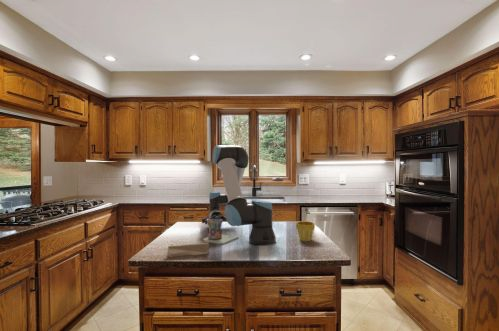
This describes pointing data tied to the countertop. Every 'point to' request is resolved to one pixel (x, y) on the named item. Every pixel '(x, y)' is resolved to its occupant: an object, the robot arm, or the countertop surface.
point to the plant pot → (305, 230)
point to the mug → (214, 228)
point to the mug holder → (188, 249)
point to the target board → (222, 239)
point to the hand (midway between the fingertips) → (219, 222)
